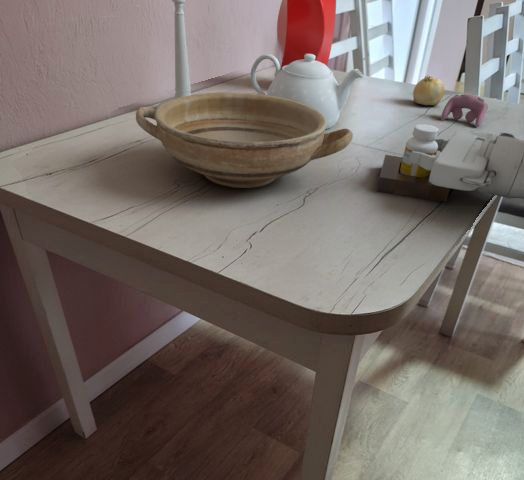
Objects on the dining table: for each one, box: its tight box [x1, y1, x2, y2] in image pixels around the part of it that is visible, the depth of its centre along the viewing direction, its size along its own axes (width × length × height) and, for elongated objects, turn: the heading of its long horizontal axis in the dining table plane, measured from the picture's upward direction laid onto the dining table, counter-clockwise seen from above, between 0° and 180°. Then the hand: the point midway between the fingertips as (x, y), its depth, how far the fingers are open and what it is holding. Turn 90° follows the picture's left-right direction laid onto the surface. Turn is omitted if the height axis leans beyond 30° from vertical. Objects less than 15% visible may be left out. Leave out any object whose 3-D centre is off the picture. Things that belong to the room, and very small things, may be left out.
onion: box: [412, 74, 446, 106], centre depth 128 cm, size 8×8×7 cm
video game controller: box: [440, 93, 489, 128], centre depth 119 cm, size 10×5×7 cm, turn 58°
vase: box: [276, 0, 337, 70], centre depth 127 cm, size 15×14×28 cm
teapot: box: [249, 53, 364, 130], centre depth 109 cm, size 19×18×14 cm
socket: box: [376, 154, 451, 203], centre depth 87 cm, size 12×12×2 cm
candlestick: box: [155, 0, 192, 110], centre depth 104 cm, size 13×13×30 cm
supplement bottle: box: [399, 123, 439, 178], centre depth 85 cm, size 5×5×10 cm
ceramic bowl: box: [135, 91, 354, 189], centre depth 84 cm, size 37×29×10 cm
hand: (415, 149), depth 85 cm, fingers open, 7 cm apart
